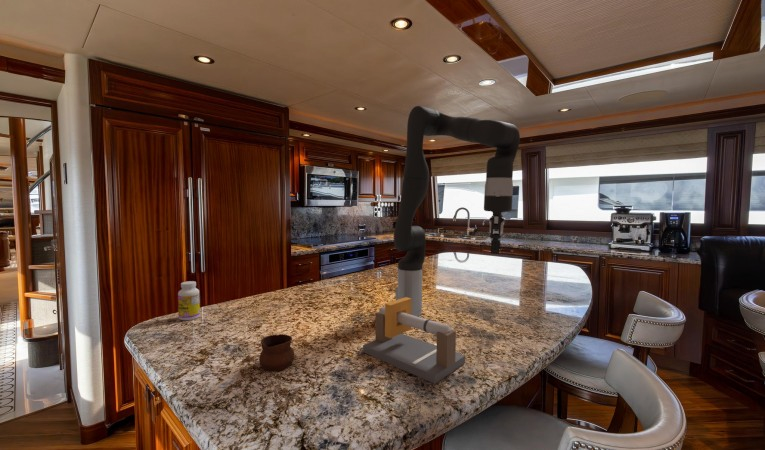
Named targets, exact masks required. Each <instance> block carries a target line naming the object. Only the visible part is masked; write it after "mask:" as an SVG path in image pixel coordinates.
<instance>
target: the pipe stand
mask: <svg viewBox="0 0 765 450" xmlns="http://www.w3.org/2000/svg"><path fill="white" fill-rule="evenodd" d="M397 322H398V323H401V324H404V325H407V326H410V327H411V328H413V329H416V330H419V331H422V332H425V333H430V334H432V335H434V336H435V335H436V344H433V343H430V342H427V341H424V340H421V339H419V338H416V337H413V336H410V335H407V334H405V333H401V334H399V335H397V336H394V337H392V338H388V337H386V336H385V306H382V307H380V309H379V311H376V312H375V328H374V329H375V331H374V332H375V335H374V337H375V339H374V340H372V341H370V342H367V343H364V344H363V345H362V352H363V353H365V354H367V355H369V356H371V357H373V358H375V359H378V360H380V361H382V362H384V363H387V364H389V365H390V366H393V367H396V368H398V369H400V370H402V371H405V372H408V373H409V374H411V375H414V376H416V377H419V378H421V379H423V380H425V381H428V382H430V383H431V384H434V385H435V384H437V383H438V382H440V381H442V380H443V379H444V378H446V377H447V376H448V375H450V374H451V373H453V372H454V371H456V370H458V368H460V367H463V365H465V364H466V355H465V354H461V353H458V352H457V350H456V347H457V331H456V330H453V329H452V327H451V326H450V325H448V324H444V323H441V322H437V321H433V320H432V319H427V318H424V317H420V316H413V315H410V314H407V313H403V312H400V311H399V312H397Z"/></svg>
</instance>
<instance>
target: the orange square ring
mask: <svg viewBox="0 0 765 450" xmlns="http://www.w3.org/2000/svg"><path fill="white" fill-rule="evenodd" d="M411 302H412V298H408V297H405V298H402V299H399V300H394V301H390V302H385V303H384V307H385V336H386V337H388V338H392V337H394V336H397V335H399V334H401V333H402V334H405V333H406V332H408V331H410V330H412V327H410V326H407V325H404V324H401V323H398V322H397V312H399V311H400V312H403V313H407V314H410V315H411Z"/></svg>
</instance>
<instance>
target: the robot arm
mask: <svg viewBox="0 0 765 450" xmlns="http://www.w3.org/2000/svg"><path fill="white" fill-rule="evenodd" d="M424 136H426V137H432V136H433V137H435V136H437V137H438V136H449V137H451V138H454V139H456V140H459V141H463V142H468V143H474V144H479V145H483V146H486V147H487V146H488V147H490V148H496V151H495V154H494V156H492V157H490V158H489V159H488V160H487V162H486V173H485V174H486V175H485V176H486V178H485V184H484V195H483V196H484V197H483V210H484V211H485V212H491V213H492V216H491V217H489V223H488V224H489V233H490V236H489V237H490V238H489V239H490V254H492V255H493V254H494V255H498V254H500V249H501V239H502V237H501V236H503V235H502V234H503V232H504V225H505V218H504V216H503V213H504V212H505V213H509V212H510V213H511V212H512V210H513V209H512V207H513V194H514V193H513V192H514V184H513V181H514V180H513V172H514V162H515V160H516V157H517V152H518V149H519V146H520V140H521V136H520V130H519V128H518V126H516V125H515V124H512V123H509V122H505V121H502V120H495V119H482V118H477V117H471V116H451V115H448V114H445V113H442V112H440V111H438V110H437V109H435V108H430V107H426V106H421V105H415V106H414V107H412V109H411V110H410V112H409V114H408V120H407V128H406V152H405V153H406V154H405V163H404V172H403V175H402V176H403V178H402V186H401V196H400V203H399V207H398V208H399V209H398V213H397V217H396V222H395V227H394V231H393V232H394V233H393V243H394V247H395V249H396V250H397V251H399V252H406V254H405V255H404V256H403V257H402V258H401V259H399V260H398V262H397V286H396V287H395V294H394V295H395V296H394V297H395V300H399V299H402V298H405V297H408V298H412V302H411V315H413V316H417V317H420V316H421V315H422V313H423V311H422V309H423V265H424V263H425V259H426V258H425V257H426V245H427V244H426V243H427V238H426V237H427V236H426V233H425V230H424V229H423V228H422V227H421V226H419V225H413V221H414V217H415V214H416V212H417V210H418V208H419V207H420V205H421V204H422V203H423V201H424V200H425V198H426V195H427V193H428V191H429V190H428V189H429V188H428V187H429V183H430V171H429V166H428V163H427V160H426V157H425V153H424V146H423V145H424ZM395 300H394V301H395Z"/></svg>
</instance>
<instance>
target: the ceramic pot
mask: <svg viewBox="0 0 765 450" xmlns="http://www.w3.org/2000/svg"><path fill="white" fill-rule="evenodd" d="M292 341H293V336H291V335H288V334H285V333H284V334H282V333H281V334H271V335H270V334H269V335H266V336H264V337H262V339H261V340H260V345H261V349H262V350H261V351H260V353H259V357H258V359H259V360H258V363H259V365H260V367H261V369H262V370H264V371H267V372H280V371H281V372H282V371H284V370H287V369H288V368H289V367H291V366H292V364H293V362H294V358H295V351H294V349H293V348H292V347H291V346H292V345H291V344H292ZM239 373H240V374H241V377H242V378H245V379H247V380H249V381H251V379H250V378H246V377H248V376H247V375H246V374H245V371H243V369H242V368H241V367H239Z"/></svg>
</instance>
